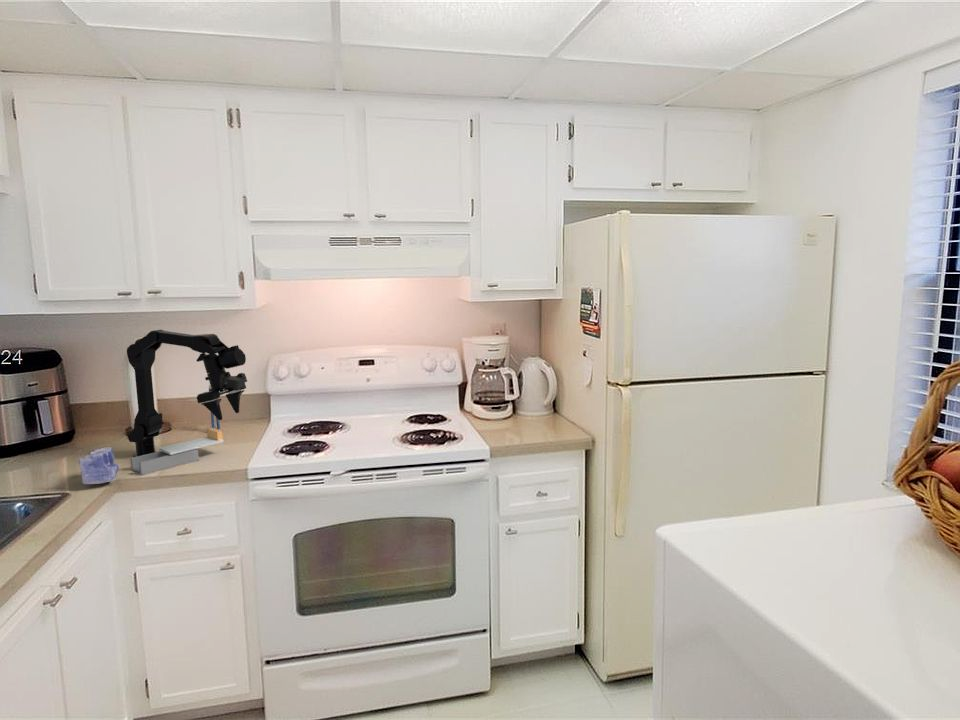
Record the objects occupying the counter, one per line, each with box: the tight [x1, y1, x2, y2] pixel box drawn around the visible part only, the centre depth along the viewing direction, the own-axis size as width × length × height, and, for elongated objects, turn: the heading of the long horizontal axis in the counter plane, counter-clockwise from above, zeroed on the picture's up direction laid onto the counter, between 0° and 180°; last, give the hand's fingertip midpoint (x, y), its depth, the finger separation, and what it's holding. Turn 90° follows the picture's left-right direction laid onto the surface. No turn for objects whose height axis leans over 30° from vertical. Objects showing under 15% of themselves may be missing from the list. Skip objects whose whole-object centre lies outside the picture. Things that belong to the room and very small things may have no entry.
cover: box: [158, 427, 225, 455], centre depth 202 cm, size 9×18×4 cm, turn 140°
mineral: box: [78, 446, 120, 485], centre depth 181 cm, size 14×10×10 cm, turn 24°
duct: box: [130, 448, 200, 476], centre depth 196 cm, size 8×18×4 cm, turn 140°
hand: (229, 416), depth 198 cm, fingers open, 9 cm apart
